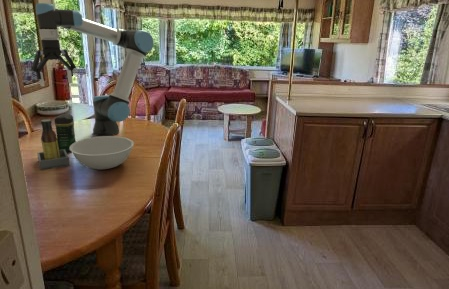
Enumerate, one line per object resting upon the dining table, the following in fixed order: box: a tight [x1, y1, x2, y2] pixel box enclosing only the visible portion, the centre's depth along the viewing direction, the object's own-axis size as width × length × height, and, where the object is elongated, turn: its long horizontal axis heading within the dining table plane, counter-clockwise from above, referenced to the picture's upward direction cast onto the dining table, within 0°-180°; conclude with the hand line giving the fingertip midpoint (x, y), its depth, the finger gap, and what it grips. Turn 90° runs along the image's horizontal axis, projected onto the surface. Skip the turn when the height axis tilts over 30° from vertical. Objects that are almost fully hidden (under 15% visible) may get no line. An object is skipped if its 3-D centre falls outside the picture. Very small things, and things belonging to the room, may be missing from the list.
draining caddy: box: [37, 149, 70, 171], centre depth 144 cm, size 12×13×4 cm
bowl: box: [69, 135, 135, 170], centre depth 143 cm, size 27×27×10 cm
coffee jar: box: [54, 113, 77, 153], centre depth 159 cm, size 10×8×19 cm
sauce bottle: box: [40, 118, 60, 160], centre depth 141 cm, size 6×6×20 cm
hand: (57, 84), depth 154 cm, fingers open, 13 cm apart
